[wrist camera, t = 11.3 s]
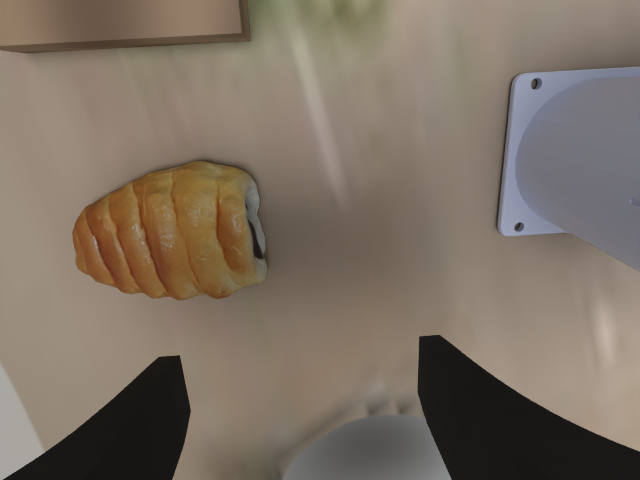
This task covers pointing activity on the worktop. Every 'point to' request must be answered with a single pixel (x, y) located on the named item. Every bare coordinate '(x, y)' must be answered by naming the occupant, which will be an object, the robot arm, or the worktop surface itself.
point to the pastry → (175, 234)
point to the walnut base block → (118, 23)
